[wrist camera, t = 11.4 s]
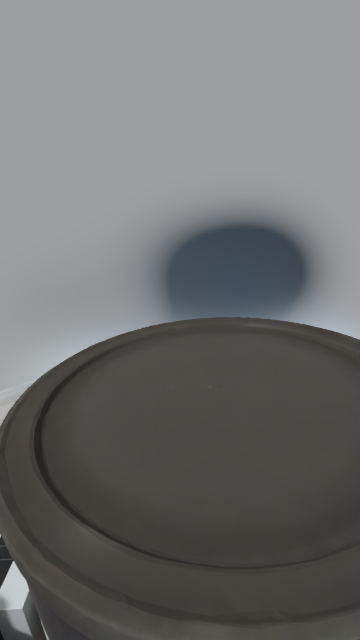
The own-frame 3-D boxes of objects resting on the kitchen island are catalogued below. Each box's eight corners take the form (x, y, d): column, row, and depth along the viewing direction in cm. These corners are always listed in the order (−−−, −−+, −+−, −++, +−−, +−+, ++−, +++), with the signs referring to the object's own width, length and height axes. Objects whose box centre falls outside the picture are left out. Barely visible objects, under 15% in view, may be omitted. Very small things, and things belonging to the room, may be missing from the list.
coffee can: (90, 1105, 7) (-230, 831, 2) (103, 588, 17) (44, 337, 12) (480, 899, 9) (731, 508, 4) (286, 539, 18) (295, 302, 14)
